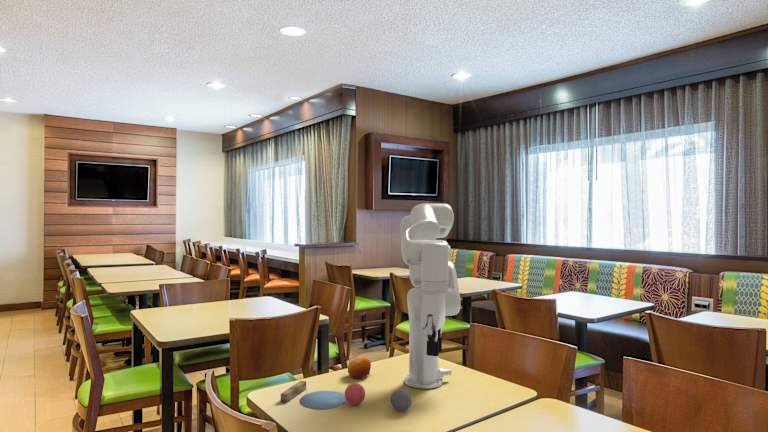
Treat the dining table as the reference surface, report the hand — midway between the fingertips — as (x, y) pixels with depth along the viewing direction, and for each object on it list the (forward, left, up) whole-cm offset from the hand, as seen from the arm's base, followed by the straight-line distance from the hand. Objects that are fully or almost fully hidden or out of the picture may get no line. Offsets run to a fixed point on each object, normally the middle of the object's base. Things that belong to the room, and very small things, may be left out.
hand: (434, 352), depth 134 cm
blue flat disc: (+26, -22, -17) cm, 38 cm away
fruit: (+9, -38, -18) cm, 43 cm away
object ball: (+18, -15, -14) cm, 27 cm away
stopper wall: (+33, -28, -17) cm, 47 cm away
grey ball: (+7, -6, -14) cm, 17 cm away
